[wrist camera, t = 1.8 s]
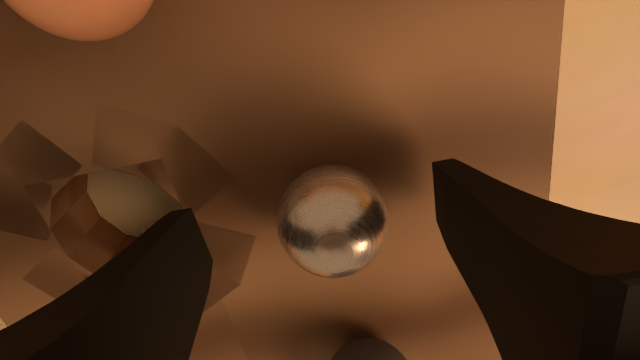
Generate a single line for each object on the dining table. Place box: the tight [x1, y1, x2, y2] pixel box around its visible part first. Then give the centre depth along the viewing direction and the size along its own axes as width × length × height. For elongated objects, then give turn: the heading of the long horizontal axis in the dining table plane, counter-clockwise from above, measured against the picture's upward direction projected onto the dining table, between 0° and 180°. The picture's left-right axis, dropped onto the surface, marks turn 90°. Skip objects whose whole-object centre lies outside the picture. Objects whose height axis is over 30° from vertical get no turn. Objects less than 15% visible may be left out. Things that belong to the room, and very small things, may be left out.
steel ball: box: [276, 165, 389, 278], centre depth 12 cm, size 3×3×3 cm
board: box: [0, 0, 565, 360], centre depth 14 cm, size 20×20×2 cm
